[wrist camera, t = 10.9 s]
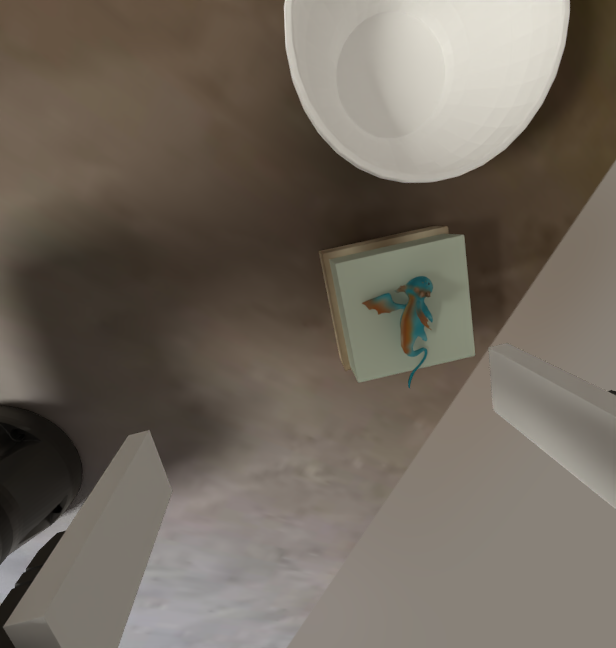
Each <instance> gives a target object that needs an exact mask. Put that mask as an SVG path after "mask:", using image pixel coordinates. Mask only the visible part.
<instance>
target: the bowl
mask: <svg viewBox="0 0 616 648" xmlns="http://www.w3.org/2000/svg"><path fill="white" fill-rule="evenodd" d="M569 16H570V0H285V4H284V21H285V45H286V52H287V57H288V62H289V67H290V72H291V77H292V81H293V84H294V87H295V89H296V92H297V94H298V97H299V99H300V102H301V104H302V107H303V109H304V111H305V113H306V114H307V116H308V117H309V119H310V121H311V122H312V124H313V125H314V127H315V129H316V130H317V132H318V134H319V135H320V136H321V137H322V138H323V139H324V140H325V141H326V142H327V143H328V144H329V145H330V147H331V148H332V149H333V150H334V151H335V152H336V153H337V154H338V155H340V156H341V157H343V158H344V159H345V160H347V161H348V162H350V163H351V164H352V165H354V166H355V167H357V168H358V169H360V170H363V171H365V172H367V173H370V174H372V175H374V176H376V177H379V178H382V179H387V180H392V181H397V182H402V183H428V182H436V181H440V180H445V179H449V178H453V177H457V176H460V175H463V174H465V173H467V172H469V171H471V170H473V169H476V168H478V167H480V166H482V165H484V164H485V163H487V162H488V161H490V160H491V159H492V158H494V157H495V156H497V155H498V154H499V153H501V152H502V151H504V150H505V149H506V148H507V147H508V146H509V145H510V144H511V143H512V142H513V141H514V140H515V139H516V138H517V137H518V136H519V135H520V134H521V133H522V132H523V131H524V130H525V129H526V127H527V126H528V124H529V123H530V121H531V120H532V119H533V117H534V116H535V114H536V113H537V111H538V110H539V108H540V107H541V106H542V104H543V102H544V100H545V98H546V96H547V94H548V92H549V90H550V87H551V85H552V83H553V81H554V79H555V77H556V74H557V71H558V68H559V64H560V61H561V58H562V55H563V51H564V48H565V44H566V37H567V30H568V23H569Z"/></svg>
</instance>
